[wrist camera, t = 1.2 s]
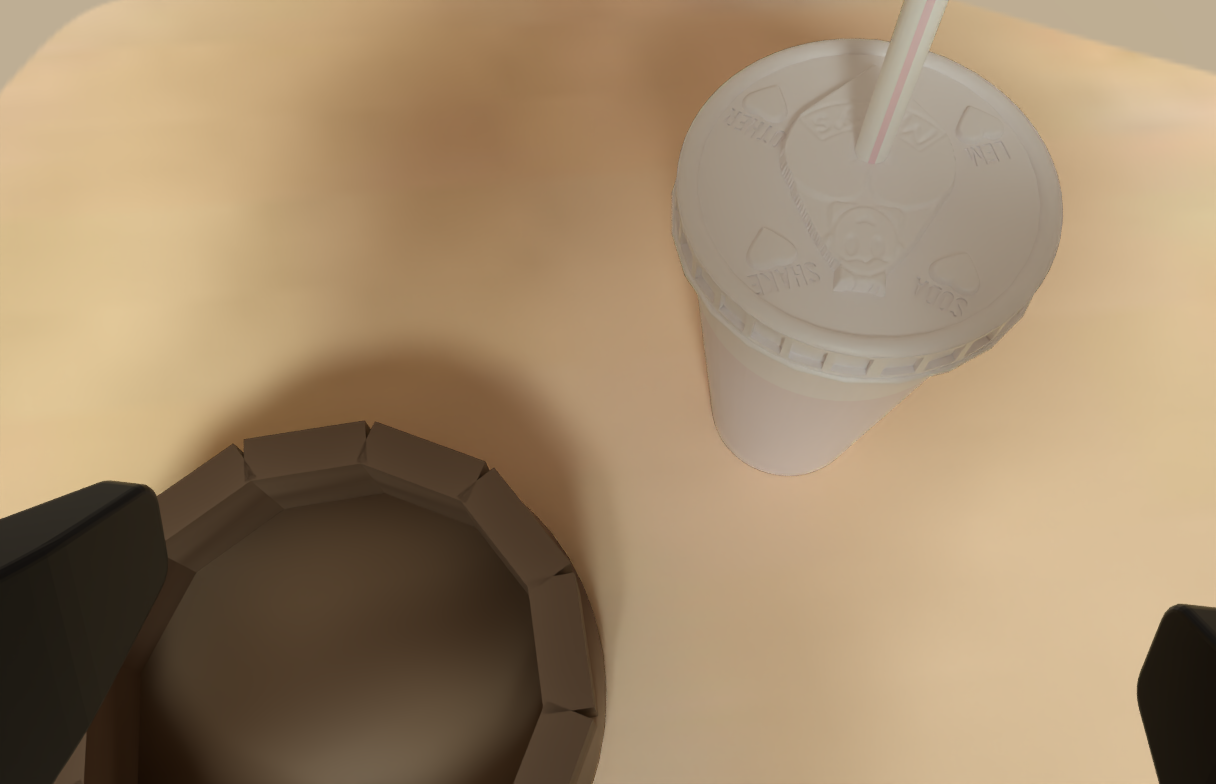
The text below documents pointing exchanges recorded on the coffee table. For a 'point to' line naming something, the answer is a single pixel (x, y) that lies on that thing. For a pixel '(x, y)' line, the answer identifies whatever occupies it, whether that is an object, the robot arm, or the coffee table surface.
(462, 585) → the bowl
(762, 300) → the smoothie
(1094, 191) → the coffee table surface
